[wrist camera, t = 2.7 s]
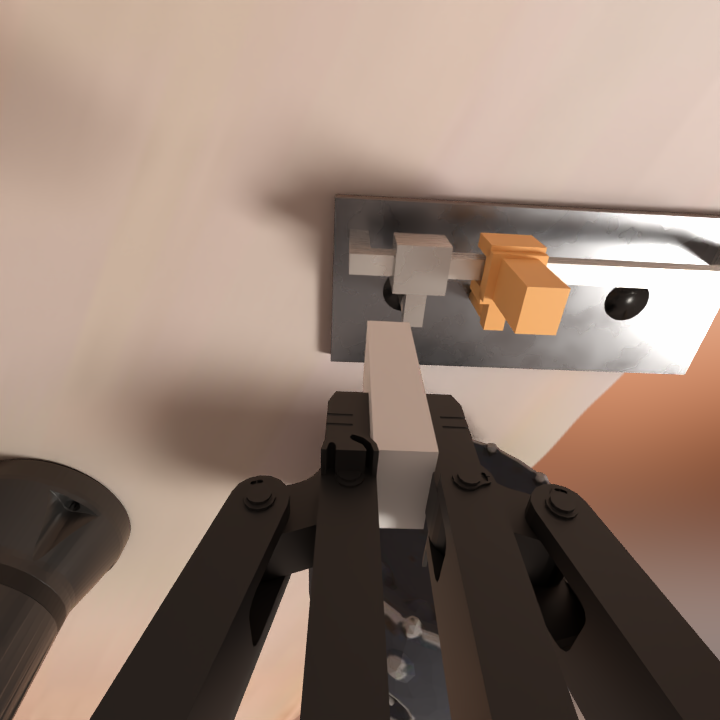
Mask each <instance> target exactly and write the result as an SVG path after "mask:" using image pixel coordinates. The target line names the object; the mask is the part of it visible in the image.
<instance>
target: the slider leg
mask: <svg viewBox="0 0 720 720" xmlns="http://www.w3.org/2000/svg"><path fill="white" fill-rule="evenodd" d="M478 247H479V248H480V249H481V251H482V252H483V253H484V254H485V256H486V261H485V266H484V271H483V276H482V280H481V281H480V280H471V284H470V289H471V292H470V294H469V299H470V301H471V303H472V305H473V306H474V308H475V310H476V312H477V313H478V315H479V317H480V324H481V326H482V328H483V330H499V331H503V328H504V324H505V320H506V321H507V322H508V324H509V325H510V327H511V328H512V330H513V331H514V333H515V334H535V335H556V333H557V330H558V327H559V324H560V321H561V318H562V315H563V312H564V308H565V305H566V302H567V299H568V296H569V293H570V290H571V288H569V287H568V286H567V285H566V284H565V283H564V282H563V281H562V280H561V279H560V278H559V277H557V276H556V275H555V274H554V273H553V272H552V271H551V270H550V269H549V268H548V267H546V266H547V263H548V259H549V256H548V255H547V254H546V251H547V247H545V246H544V245H543V244H542V243H541V242H539V241H538V240H537V239H536V238H534V237H533V236H532V235H518V234H499V233H480V238H479V244H478Z"/></svg>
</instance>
